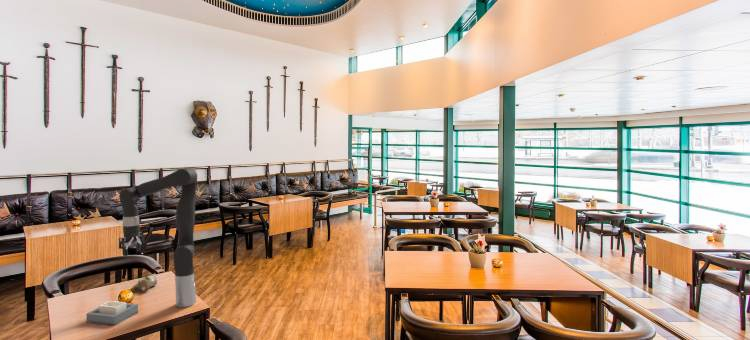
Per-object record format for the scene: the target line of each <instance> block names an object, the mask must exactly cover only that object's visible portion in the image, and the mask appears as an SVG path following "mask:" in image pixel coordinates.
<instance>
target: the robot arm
mask: <svg viewBox="0 0 750 340" xmlns="http://www.w3.org/2000/svg"><path fill="white" fill-rule="evenodd" d="M197 182H198V173H197V171H196V170H195V169H194V168H193V167H182V168H179V169H177V170H176V171H173V172H172V173H170V174H167V175H165V176H162V177H159V178H156V179H152V180H148V181H145V182H143V183H141V184H138V185H136V186H132V187H124V188H123V189H121V190H120V192H119V195H118V197H119V198H118V199H119V203H120V205H121V208H122V232H123V235H124V236H123V237H121V236H120V237H119V238H118V249H119V250H122V256H123V257H127V256H129V252H128V251H129V250H128V248H129V246H131V244H133V243H135V244H136V245H135V250H136V252H141V251H142V244H143V243H145V235H144V234H145V233H144V232H143V231H140V230H141V227H140V215H139V206H138V205H137V204H135V203H134V201H135V200H136V201H137V200H139V199H142V198H143V197H147V196H150V195H153V194H156V193H159V192H162V191H163V190H166V189H169V188H172V187H178V186H181V195H180V197H179V200H178V203H177V205H176V210H175V222H176V228H177V233H178V239H177V241H178V242H177V245H176V249H175V250H174V253H173V269H174V275H175V276H174V277H175V278H174V280H175V282H174V283H175V307H176V308H181V309H182V308H189V307H192V306H193V305H195V303H196V301H197V297H196V295H197V294H196V284H195V267H194V259H193V258H194V254H195V242H194V230H195V222H196V191H197ZM188 306H189V307H188Z"/></svg>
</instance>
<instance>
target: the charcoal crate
mask: <svg viewBox="0 0 750 340" xmlns="http://www.w3.org/2000/svg"><path fill="white" fill-rule="evenodd" d="M126 307H127V309H125V310H123V311H121V312H119V313H117V314H115V315H110V314H101V313H99V307H97V308H95V309H93V310H91V311H88V312H87V313H86V314H85V315H86V323H87V324H88V323H89V324H96V325H103V326H104V325H105V326H117V325H119V324H120V323H122V322H124V321H126V320H127V319H130V318H131V317H133V316H135V315H137V314H138V313H139V304H137V303H130V302H129V303H128V302H126Z"/></svg>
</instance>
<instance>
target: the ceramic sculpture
mask: <svg viewBox="0 0 750 340" xmlns="http://www.w3.org/2000/svg"><path fill="white" fill-rule="evenodd" d="M157 284H158V279H157V275H156V273H153V274H150V275H146V274H145V275H144V276H143V277H142V278H140V279H138V281H137V283H135V284H134V285H133V286H132V287H131V288H130V289H131V290H130V291H137V290H141V291H142V292H147V291H149V289H150V288H151V287H156V285H157Z"/></svg>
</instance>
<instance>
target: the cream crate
mask: <svg viewBox="0 0 750 340" xmlns="http://www.w3.org/2000/svg"><path fill="white" fill-rule="evenodd" d="M126 303H127V302H126V301H114V300H108V301H106V302H104V303H102V304H100V305H98V308H99V313H101V314H110V315H115V314H117V313H119V312H121V311H123V310H125V309H127V307H126Z"/></svg>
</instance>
